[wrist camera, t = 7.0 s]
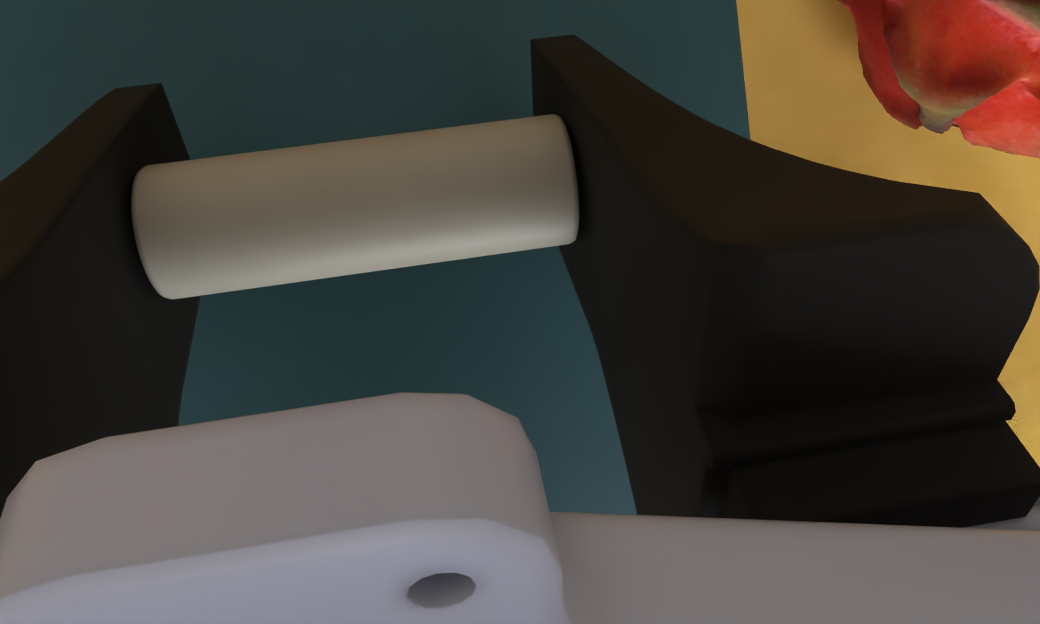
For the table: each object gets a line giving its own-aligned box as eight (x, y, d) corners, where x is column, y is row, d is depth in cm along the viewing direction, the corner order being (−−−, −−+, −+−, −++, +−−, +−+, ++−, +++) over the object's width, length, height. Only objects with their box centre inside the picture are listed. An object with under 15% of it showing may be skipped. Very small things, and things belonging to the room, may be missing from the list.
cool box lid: (772, 493, 16) (926, 614, 11) (75, 610, 15) (-105, 803, 10) (695, -247, 14) (831, -494, 9) (-85, -176, 13) (-389, -410, 8)
